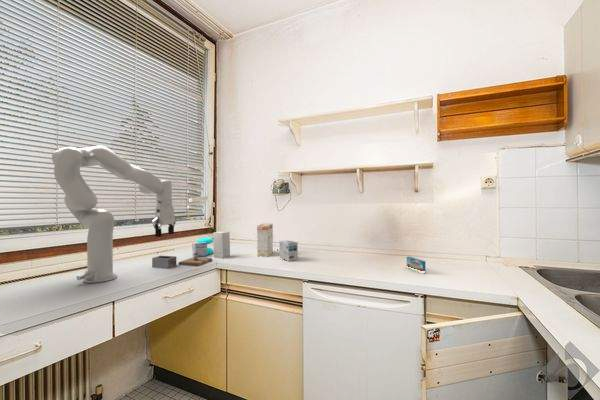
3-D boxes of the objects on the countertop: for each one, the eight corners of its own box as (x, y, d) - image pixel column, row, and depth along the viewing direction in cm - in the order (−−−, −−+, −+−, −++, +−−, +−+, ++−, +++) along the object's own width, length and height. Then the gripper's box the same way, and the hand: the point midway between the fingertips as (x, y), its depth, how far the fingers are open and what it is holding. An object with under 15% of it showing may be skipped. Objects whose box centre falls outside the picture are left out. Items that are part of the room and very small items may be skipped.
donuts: (213, 239, 189) (196, 239, 186) (213, 254, 189) (196, 255, 186) (212, 237, 198) (197, 237, 195) (212, 251, 198) (197, 252, 196)
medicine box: (195, 258, 179) (194, 243, 179) (192, 256, 182) (192, 243, 182) (207, 256, 184) (207, 242, 184) (204, 255, 187) (204, 241, 187)
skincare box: (230, 256, 182) (230, 231, 182) (222, 258, 176) (222, 232, 176) (221, 255, 186) (220, 231, 186) (212, 257, 181) (212, 232, 181)
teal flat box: (425, 273, 142) (425, 261, 142) (422, 274, 142) (422, 261, 142) (409, 268, 154) (409, 256, 154) (406, 268, 153) (406, 256, 153)
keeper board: (197, 266, 157) (197, 256, 157) (178, 264, 160) (178, 254, 160) (212, 260, 171) (212, 251, 171) (194, 259, 174) (193, 250, 174)
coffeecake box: (263, 252, 198) (262, 223, 198) (273, 252, 197) (273, 223, 197) (256, 256, 183) (256, 225, 183) (267, 256, 182) (267, 225, 182)
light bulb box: (298, 260, 172) (298, 242, 172) (288, 261, 168) (288, 243, 168) (288, 257, 181) (288, 239, 181) (279, 258, 177) (279, 240, 177)
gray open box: (168, 268, 152) (168, 258, 152) (152, 267, 155) (152, 257, 155) (176, 265, 159) (176, 256, 158) (160, 264, 161) (160, 255, 161)
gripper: (158, 203, 147) (159, 237, 147) (180, 202, 164) (181, 233, 164) (146, 203, 149) (146, 237, 149) (169, 202, 166) (169, 232, 166)
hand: (164, 235), depth 157 cm, fingers open, 9 cm apart
